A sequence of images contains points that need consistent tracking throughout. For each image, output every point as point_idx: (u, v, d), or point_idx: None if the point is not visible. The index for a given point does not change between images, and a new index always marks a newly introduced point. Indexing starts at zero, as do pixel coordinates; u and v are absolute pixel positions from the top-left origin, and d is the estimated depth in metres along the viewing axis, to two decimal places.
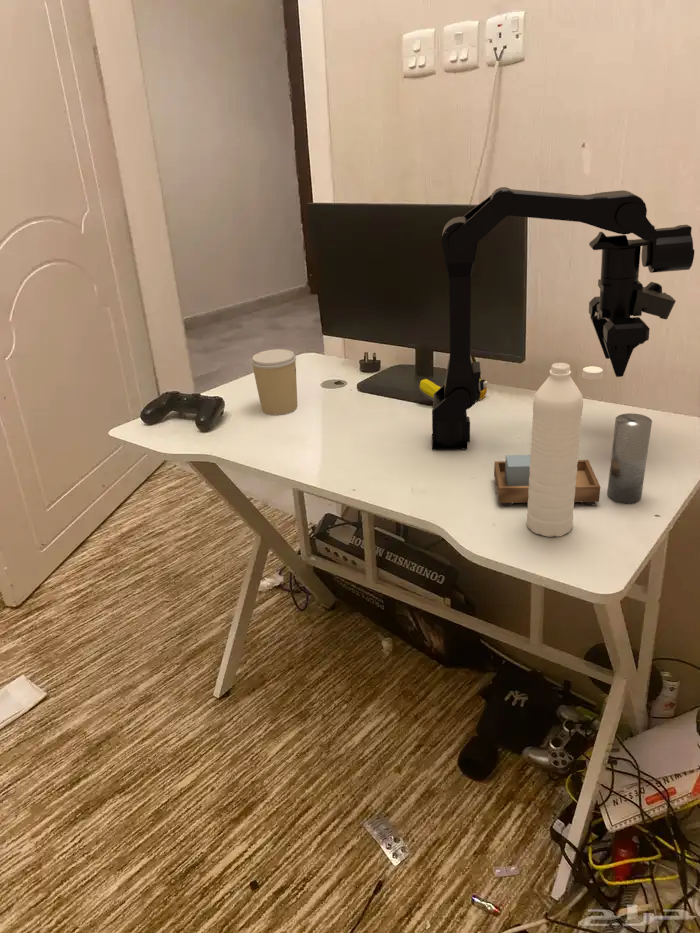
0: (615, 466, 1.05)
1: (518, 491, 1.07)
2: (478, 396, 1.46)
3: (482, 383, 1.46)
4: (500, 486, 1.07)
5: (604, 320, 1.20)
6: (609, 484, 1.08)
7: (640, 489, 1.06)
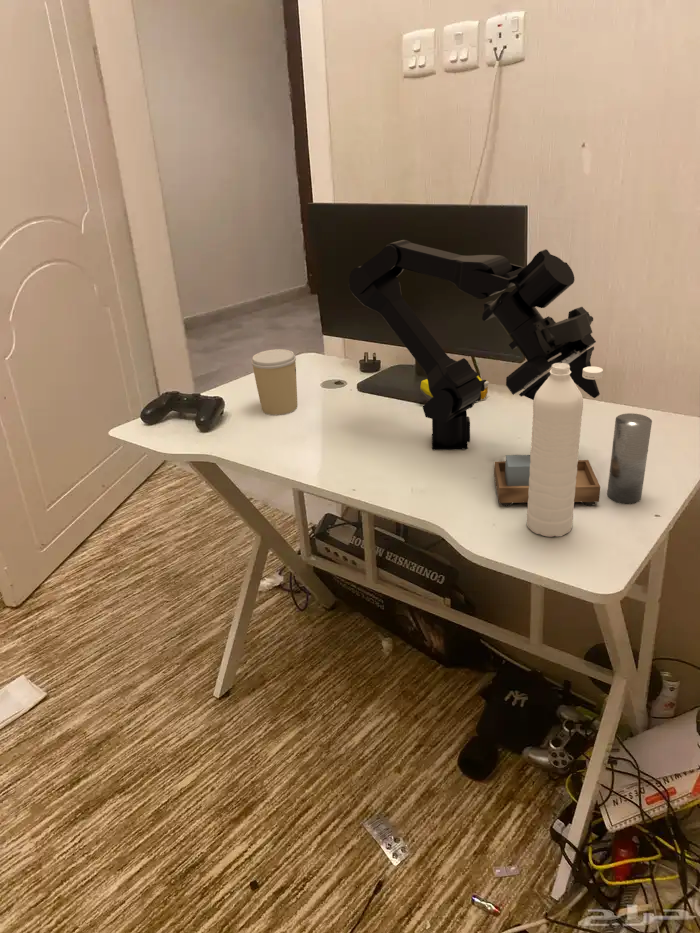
0: (615, 466, 1.05)
1: (518, 491, 1.07)
2: None
3: (483, 383, 1.46)
4: (500, 486, 1.07)
5: (569, 364, 1.12)
6: (609, 484, 1.08)
7: (640, 489, 1.06)
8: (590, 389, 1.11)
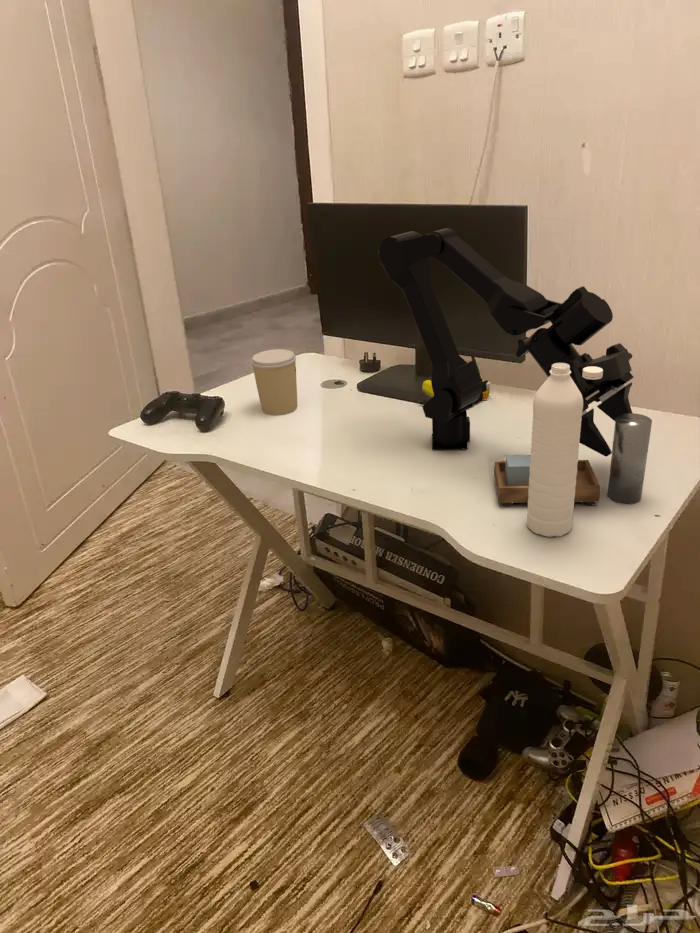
0: (615, 466, 1.05)
1: (518, 491, 1.07)
2: (481, 397, 1.46)
3: (485, 384, 1.46)
4: (500, 486, 1.07)
5: (606, 400, 1.10)
6: (609, 484, 1.08)
7: (640, 489, 1.06)
8: None
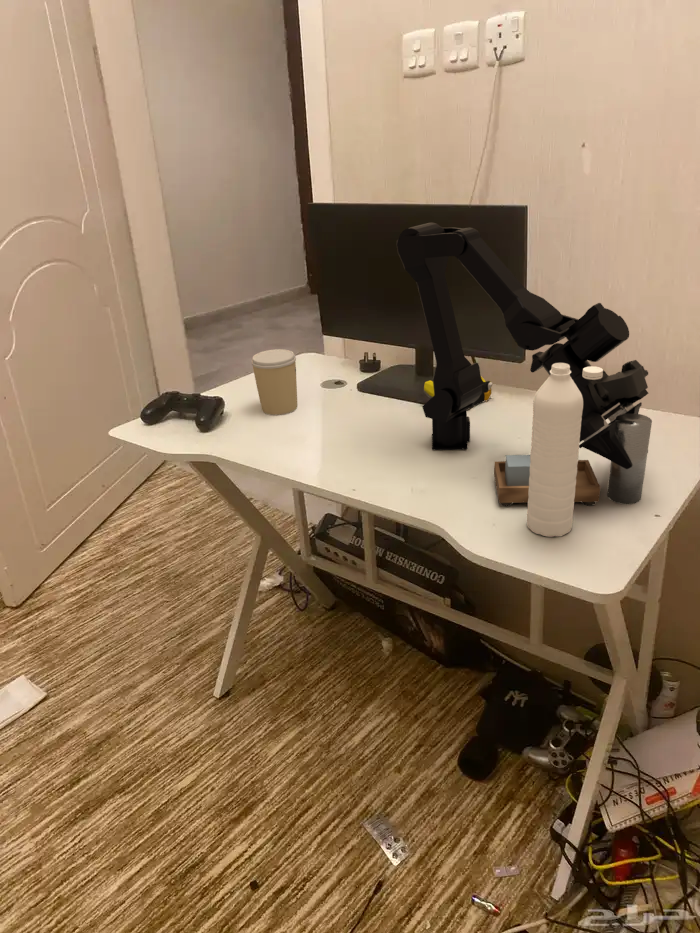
0: (615, 466, 1.05)
1: (518, 491, 1.07)
2: (483, 398, 1.45)
3: (487, 385, 1.45)
4: (500, 486, 1.07)
5: None
6: (609, 484, 1.08)
7: (640, 489, 1.06)
8: None
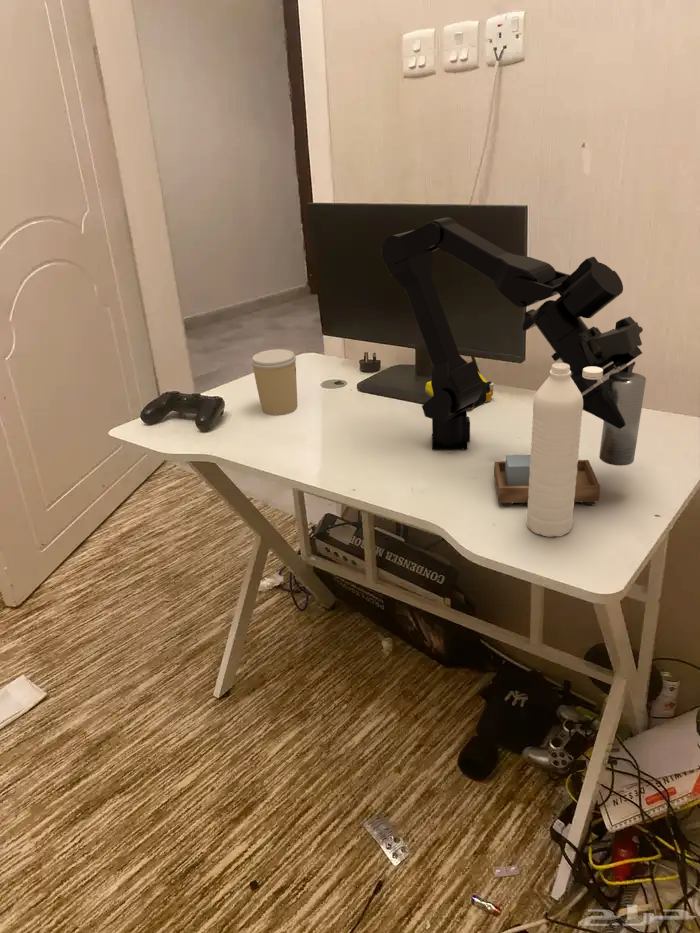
0: (608, 426, 1.03)
1: (518, 491, 1.07)
2: (484, 398, 1.45)
3: (488, 385, 1.45)
4: (500, 486, 1.07)
5: None
6: (601, 445, 1.05)
7: (633, 450, 1.04)
8: None
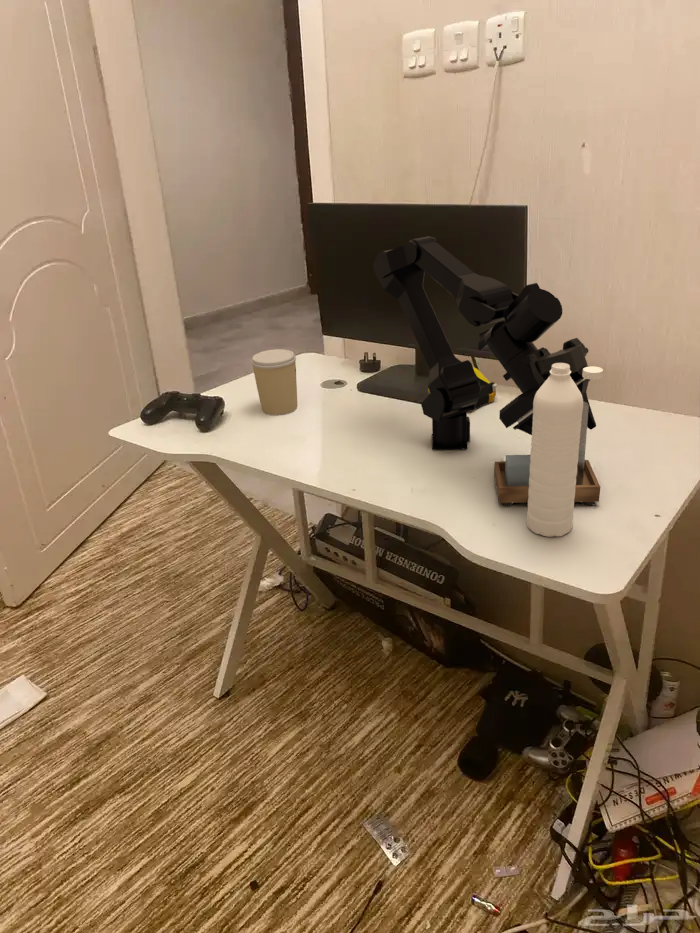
0: None
1: (518, 491, 1.07)
2: (487, 399, 1.44)
3: (491, 386, 1.44)
4: (500, 486, 1.07)
5: None
6: None
7: (581, 474, 1.07)
8: None
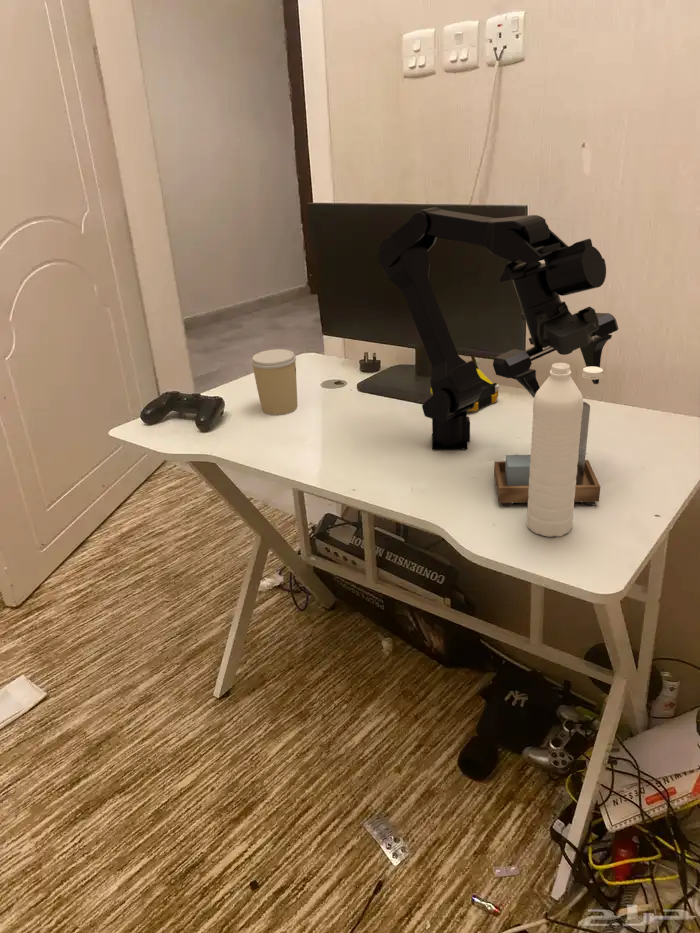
0: None
1: (518, 491, 1.07)
2: (490, 400, 1.44)
3: (494, 387, 1.44)
4: (500, 486, 1.07)
5: None
6: None
7: (581, 474, 1.07)
8: None
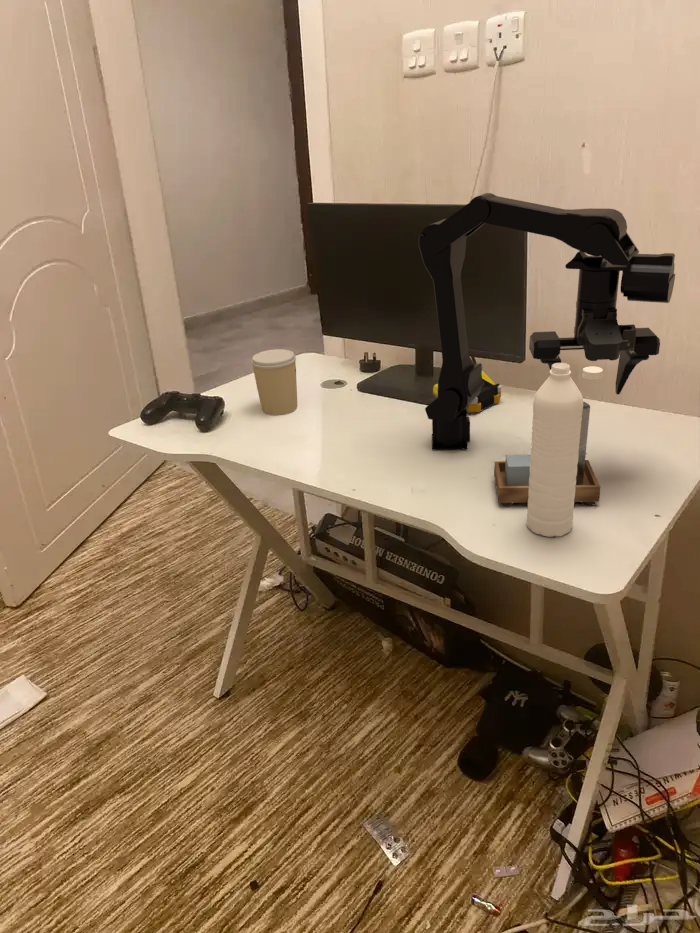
0: None
1: (518, 491, 1.07)
2: (492, 401, 1.43)
3: (496, 387, 1.43)
4: (500, 486, 1.07)
5: (623, 351, 1.10)
6: None
7: (581, 474, 1.07)
8: (617, 384, 1.11)
